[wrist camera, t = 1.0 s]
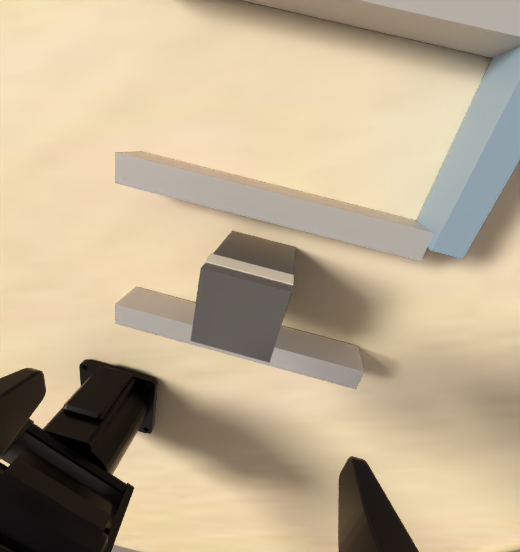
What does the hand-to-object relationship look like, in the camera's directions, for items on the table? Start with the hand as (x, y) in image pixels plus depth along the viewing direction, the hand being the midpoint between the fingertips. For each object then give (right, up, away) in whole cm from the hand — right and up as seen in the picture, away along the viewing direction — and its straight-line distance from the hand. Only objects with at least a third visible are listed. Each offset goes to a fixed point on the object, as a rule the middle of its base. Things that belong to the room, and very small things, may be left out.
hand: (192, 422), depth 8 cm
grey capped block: (+2, +5, +10) cm, 12 cm away
